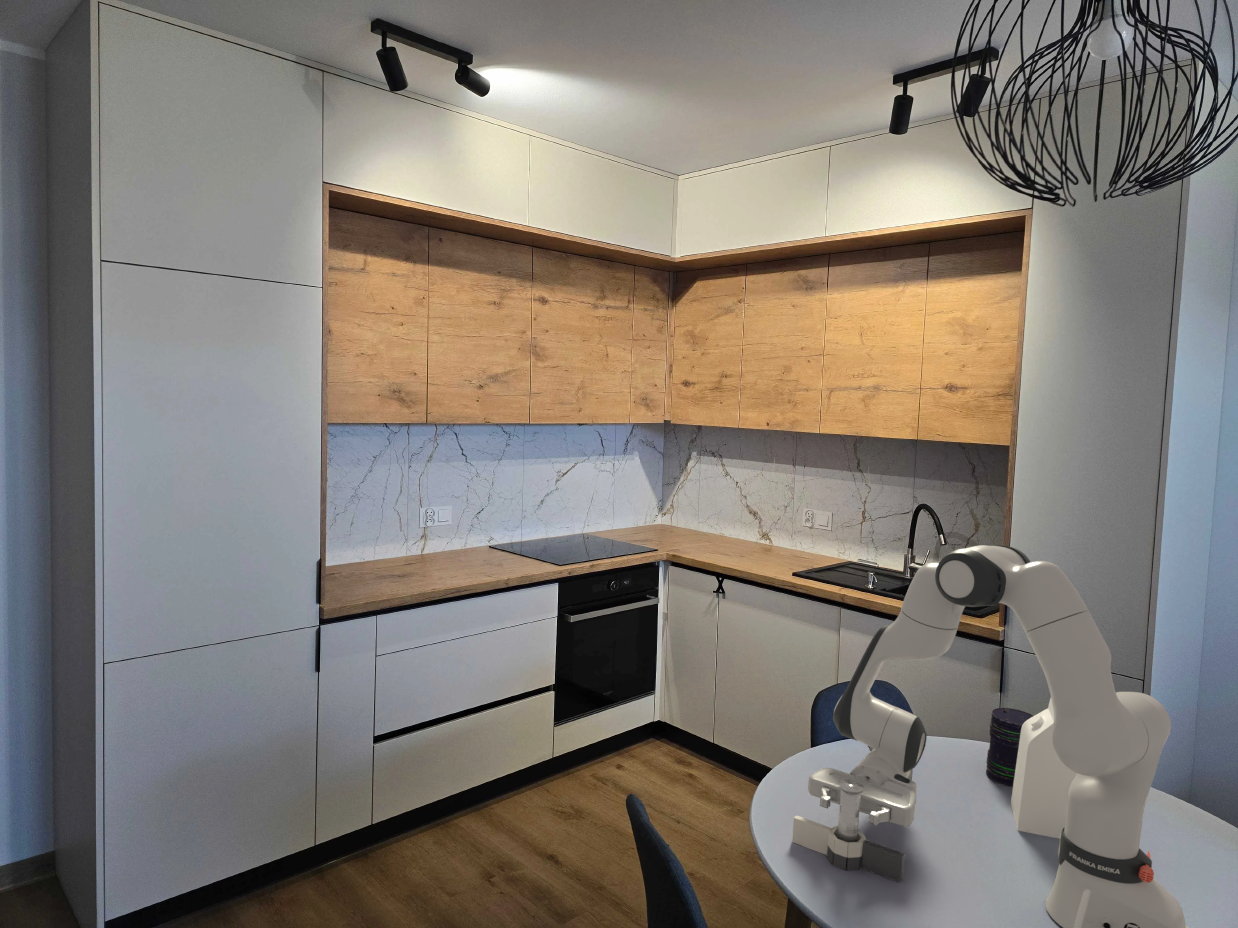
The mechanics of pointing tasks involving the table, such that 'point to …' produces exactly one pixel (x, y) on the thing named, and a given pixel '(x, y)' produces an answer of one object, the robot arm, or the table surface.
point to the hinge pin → (849, 809)
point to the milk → (1040, 779)
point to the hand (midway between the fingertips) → (847, 811)
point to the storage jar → (1004, 744)
